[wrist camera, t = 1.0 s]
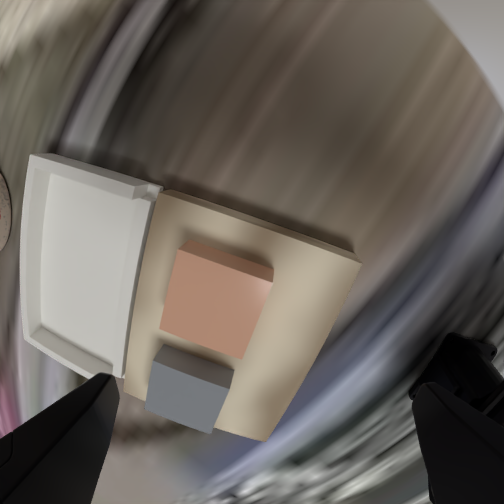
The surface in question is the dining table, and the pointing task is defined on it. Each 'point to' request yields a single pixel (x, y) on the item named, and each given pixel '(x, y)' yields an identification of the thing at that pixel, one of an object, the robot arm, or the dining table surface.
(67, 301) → the tray
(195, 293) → the terracotta tile
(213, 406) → the slate tile
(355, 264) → the birch board
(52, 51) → the dining table surface
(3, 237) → the teacup with lid
